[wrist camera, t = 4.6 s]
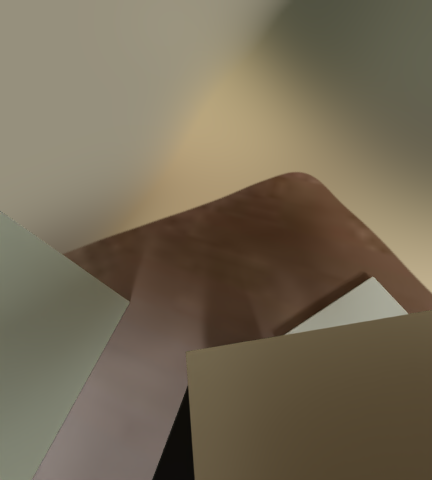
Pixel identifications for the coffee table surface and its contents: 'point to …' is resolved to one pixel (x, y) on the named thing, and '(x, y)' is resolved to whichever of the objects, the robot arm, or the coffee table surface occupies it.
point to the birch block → (316, 404)
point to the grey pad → (354, 308)
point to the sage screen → (44, 343)
